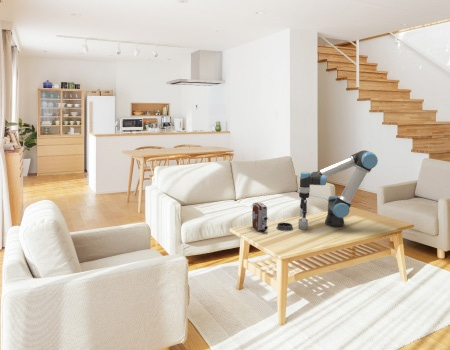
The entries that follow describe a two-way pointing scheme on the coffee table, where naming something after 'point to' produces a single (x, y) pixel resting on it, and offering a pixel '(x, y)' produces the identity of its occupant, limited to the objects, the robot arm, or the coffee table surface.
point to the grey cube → (302, 225)
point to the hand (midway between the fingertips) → (302, 219)
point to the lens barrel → (284, 227)
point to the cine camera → (259, 217)
